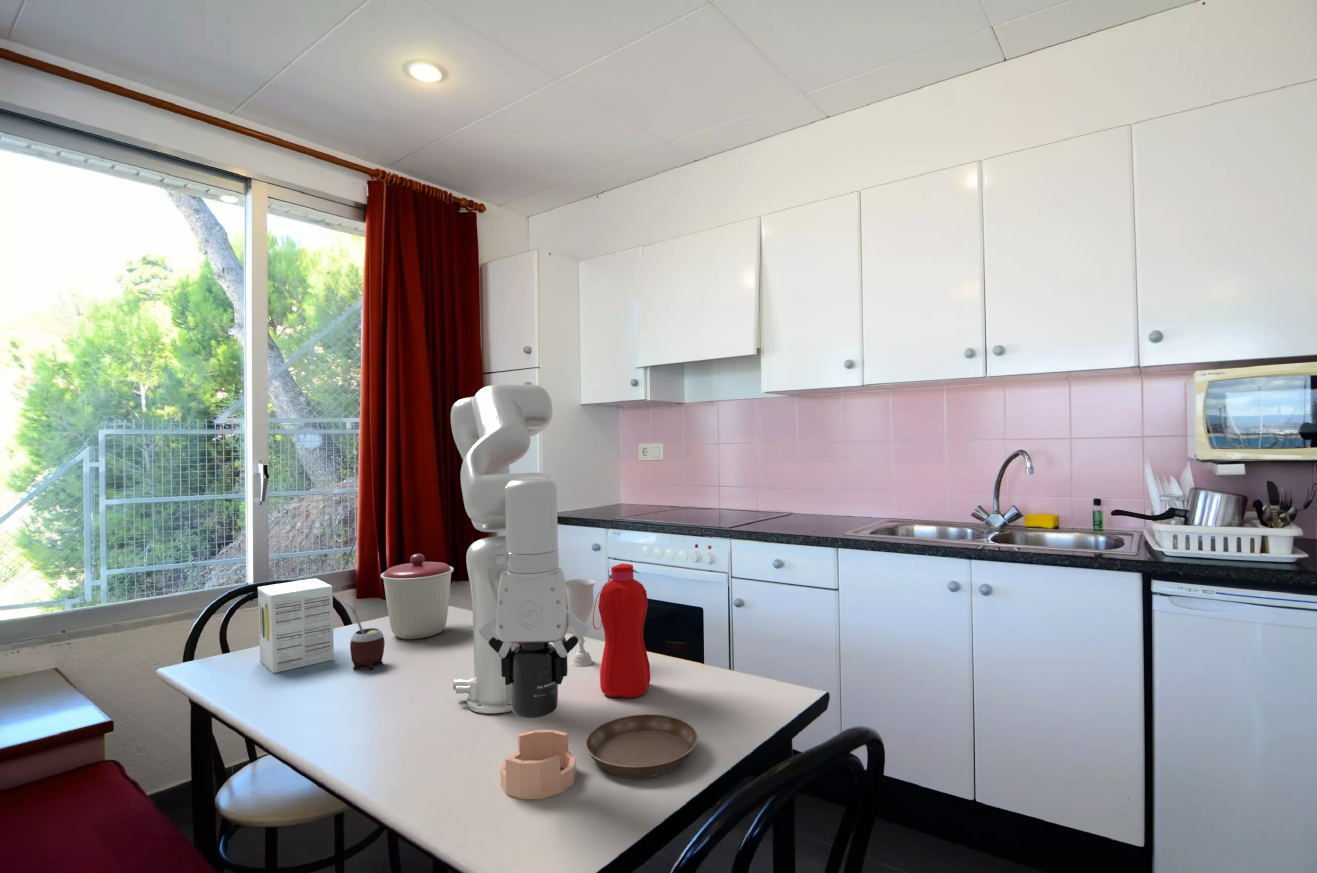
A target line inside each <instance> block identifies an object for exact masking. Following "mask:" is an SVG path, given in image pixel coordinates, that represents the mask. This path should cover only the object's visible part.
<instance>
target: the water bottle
mask: <svg viewBox="0 0 1317 873" xmlns="http://www.w3.org/2000/svg"><path fill="white" fill-rule="evenodd" d="M635 571H636V569H634V565H633V564H630V563H623V562H621V563H619V564H617V565H614V566H612V567H611V571H610V572H611V574H609V576H608V581H606V583H604V584H603V585H602V588H601V589H600V591H599V592H598V593H597V596H596V598H595V602H594V605H593V614H592V625H593V627H594V628H593V629H595V630H597V631H598V630H600V629H601V627H602V628H603V631H604V648H603V653H602V659H601V665H600V669H599V686H600V689H601V692H602V693H603V694H604V695H606V696H607V697H610V698H611V697H612V698H613V697H614V698H627V699H628V698H630V699H631V698H632V699H633V698H638V697H641V696H643V694H645V693H646V692H647V690H648V688H649V686H650V682H651V668H650V667H651V666H650V661H649V656H648V652H647V649H646V644H645V640H644V626H645V621H646V616H647V611H648V610H647V609H648V606H649V603H648V595H647V594H648V592H647V590H646V588H645V586H644V585H643V584H642V583H641V582H640V581H638V580H637V579H634V572H635ZM598 597H599V598H598ZM598 599H599V600H598ZM597 600H598V606H597V607H598V613H599V615H600V616H599V617H600V621H601V622H600V627H599V628H597V627H596V626H595V623H594V621H595V620H594V618H595V608H596V605H597Z"/></svg>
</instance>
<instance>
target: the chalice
mask: <svg viewBox="0 0 1317 873" xmlns="http://www.w3.org/2000/svg"><path fill="white" fill-rule="evenodd" d="M565 584H566V591H567V600H568V610H569V611H570V612H571V613H573V614H574V615H575V616H576V617H577V618H579V619H580V620H581V621H582V622H583V623H585V624H586V623H587V622H588V620H589V619H590V618H589V617H590V615H591V613H592V610H593V609H594V605H595V602H594V586H595V584H596V581H595V580H594V579H589V578H588V579H587V578H576V579H569V580H565ZM585 642H586V640H585V638H584V636H583V637H582V639H581V640H580V641H579V642H578V643H577V644H578V649H577V650H576V651H575V652H574V653H573V655H572V658H571V661H570V663H569V664H570V666H573V667H579V668H580V667H587V666H591V665H592V664H594V661H593V659H592V656H591V655H590V652H589V651H587V650H586V649H585V648H584V644H585Z"/></svg>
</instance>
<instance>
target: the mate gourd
mask: <svg viewBox="0 0 1317 873" xmlns="http://www.w3.org/2000/svg"><path fill="white" fill-rule="evenodd" d="M342 603H344V604H345V605H346V606H347V607H348V608H350V610H351V612H352V614H353V615H354V618H355V620H356V623H357V626H358V627H359V630H357V631H355V632H354V633H353V635H352V637H351V638H350V643H349V646H350V647H349V648H350V649H349V650H350V659H351V661H352V665H353V667H352V669H353V671H356V670H361V669H367V670H368V671H369V672H370V671H373V670H374V669H373V667H375V666H377V667H378V666H381V665H383V664H384V661H383V657H384V652H385V638H384V634H383V633H382V631H381V630H380V629H379V628H376V627H371V628H370V627H369V628H363V627H362V623H361V622H360V619H359V616H358V612H357V610H356V608H355V607H354V606H353V605H351V604H350V603H349V602H347V601H345V600H344V599H343V600H342Z"/></svg>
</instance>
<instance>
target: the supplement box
mask: <svg viewBox="0 0 1317 873" xmlns="http://www.w3.org/2000/svg"><path fill="white" fill-rule="evenodd" d="M333 598H334V597H333V585H331V584H329V583H327V582H325V581H322V580H320V579H318V578H317V577H316V578H309V579H303V580H301V579H300V580H296V581H288V582H282V583H275V584H269V585H262V586H257V602H258V603H257V604H258V606H257V607H258V609H257V610H258V629H259V630H258V633H259V661H260V662H261V663H262V664H263V665H264V666H265V667H266V668H267V669H268V670H270V672H271V673H272V674H276V673H280V672H285V671H288V670H294V669H297V668H301V667H307V666H311V665H312V666H313V665H314V664H315V665H316V664H320V663H325V662H329V661H333V660H335V651H334V650H335V648H334V647H335V644H334V642H335V641H334V603H333V602H334V600H333Z"/></svg>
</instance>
